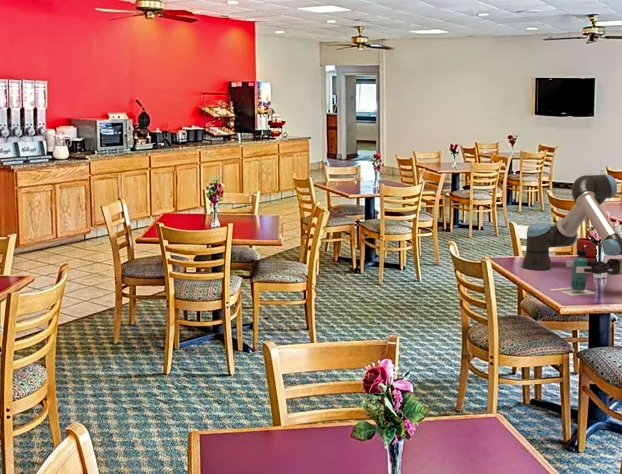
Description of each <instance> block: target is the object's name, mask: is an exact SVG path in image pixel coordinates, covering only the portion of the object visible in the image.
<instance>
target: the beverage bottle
mask: <svg viewBox="0 0 622 474" xmlns="http://www.w3.org/2000/svg"><path fill="white" fill-rule="evenodd" d="M578 255H580V256H585V255H586V251H584V250H577V249H576V257H574V258H573V261H574V262H573V267H572V272H571V273H572V275H571V281H570V282H571V283H570V288H571V289H572V290H577V291H583V290H585V287H587V274H588V273H576V267H587V262H588V260H587V259H586V258H585V257H577V256H578Z"/></svg>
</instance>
